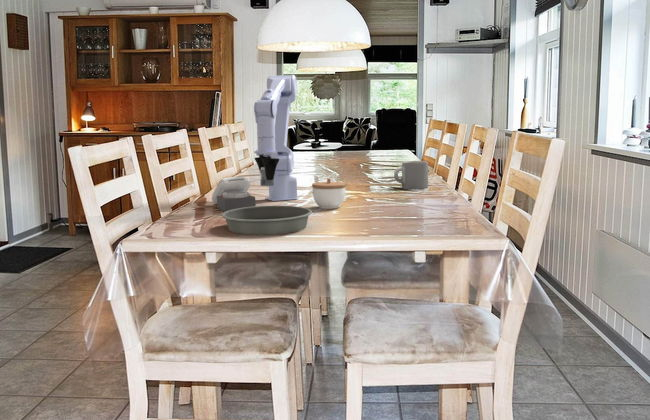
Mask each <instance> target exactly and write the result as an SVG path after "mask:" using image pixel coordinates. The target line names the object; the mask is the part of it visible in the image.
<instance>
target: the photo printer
mask: <svg viewBox="0 0 650 420" xmlns="http://www.w3.org/2000/svg"><path fill="white" fill-rule="evenodd" d="M250 187H251V181H250V178H249V177H247V176H229V177H225V178H222V179H220V181H219V183H218V184H217V186H216V188H215V189H214V191H213V193H212V196H211V200H212V202H213V203H214V204H215V205H217V196H221V195H222V193H224V192H230V191H247V192H248V190H250Z"/></svg>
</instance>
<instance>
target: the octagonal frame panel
mask: <svg viewBox="0 0 650 420" xmlns="http://www.w3.org/2000/svg"><path fill="white" fill-rule="evenodd" d="M253 206H256V196H254V195H251V194H250V192H249V191H248V190H247V191H230V192H224V193H222V195H221V196H217V204H216V208H217V209H219V210H221V211H223V212H226V211H229V210H233V209H238V208H244V207H253Z"/></svg>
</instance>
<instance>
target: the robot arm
mask: <svg viewBox="0 0 650 420" xmlns="http://www.w3.org/2000/svg"><path fill="white" fill-rule="evenodd" d="M297 89H298V81H297V77H296V76H295V74H291V75H290V74H289V75H270V74H269V75H268V76H267V78H266V90H265V91H264V92H263V94H262V96H261V97H260V99H258V100H256V101H255V102H254V104H253V112H254V118H255V119H254V120H255V121H254V122H255V124H256V129H257V131H256V133H257V134H256V137H257V139H256V140H257V149H256V150H254V152H253V153H254V154H256V156H257V157H254V160H255V162H256V164H257V167H258V170H259V172H260V170H261V167H264V168H265V174H266V179H267V180H273V179H274V185H272V186H268V196H265V198H264V199H266V200H269V201H272V202H277V201H287V200H289V201H290V200H291V201H292V200H299V197H298V182H297V176H296V174H295V173H292V172H293V171H294V169H295V167H294V166H295V162H294V152H293V151H292V150H291V149H290V148H289V147H288V146H287V145H288V144H287V143H288V132H289V122H290V111H291V110H290V109H291V105H292V103H294V102H295V101H296V98H297V92H298V90H297Z"/></svg>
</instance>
